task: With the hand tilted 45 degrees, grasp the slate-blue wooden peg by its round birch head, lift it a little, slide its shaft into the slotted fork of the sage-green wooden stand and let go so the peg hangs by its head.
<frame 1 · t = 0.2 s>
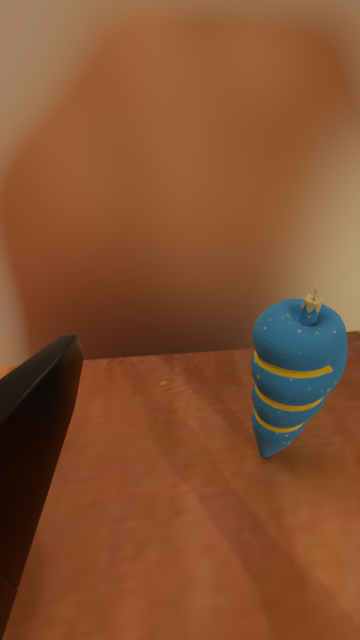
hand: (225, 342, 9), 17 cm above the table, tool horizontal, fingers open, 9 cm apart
ornament: (264, 453, 24), on the table
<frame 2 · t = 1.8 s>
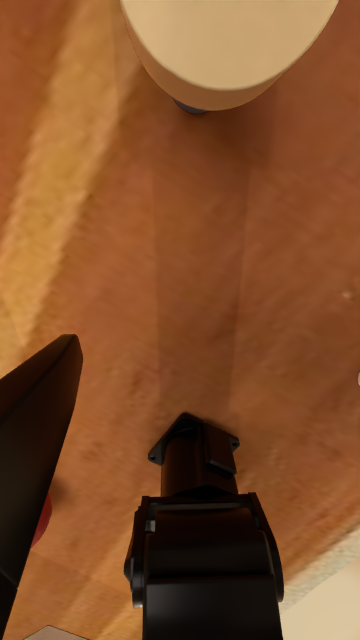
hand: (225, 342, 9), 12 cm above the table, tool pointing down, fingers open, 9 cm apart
peg: (196, 78, 16), on the table
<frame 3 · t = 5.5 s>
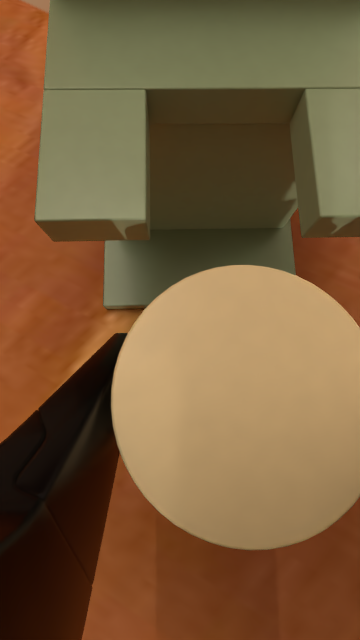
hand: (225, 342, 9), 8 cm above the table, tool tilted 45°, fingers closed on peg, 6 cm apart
peg: (202, 382, 16), on the table, touching gripper
stand: (199, 279, 18), on the table
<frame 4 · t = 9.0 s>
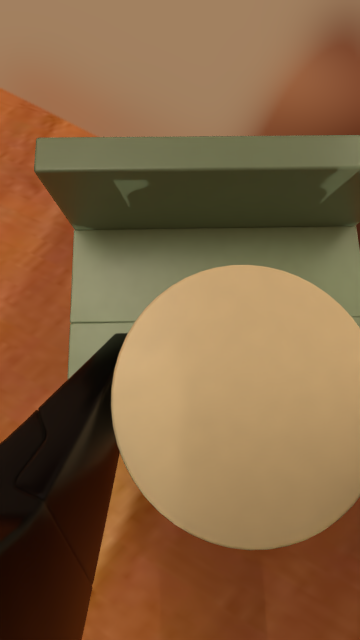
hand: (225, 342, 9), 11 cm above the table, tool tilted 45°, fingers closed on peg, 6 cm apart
peg: (202, 382, 16), point 3 cm above the table, touching gripper
stand: (199, 380, 19), on the table
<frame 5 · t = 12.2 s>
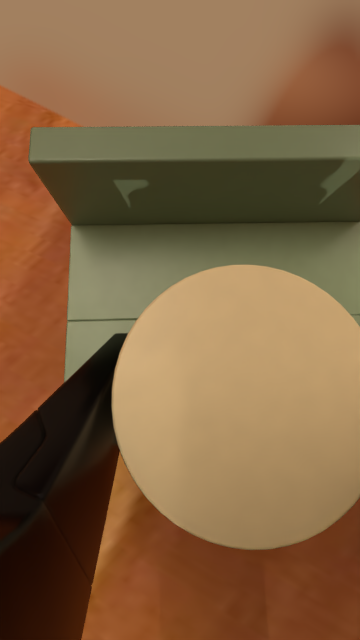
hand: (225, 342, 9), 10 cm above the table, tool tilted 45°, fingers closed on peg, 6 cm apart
peg: (203, 382, 16), point 2 cm above the table, touching gripper
stand: (199, 380, 19), on the table
when the fingers open (11 cm above the table, at t = 15.0 s): peg drops 1 cm, resting on stand.
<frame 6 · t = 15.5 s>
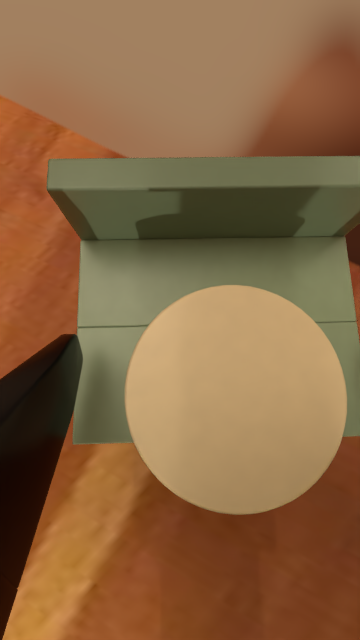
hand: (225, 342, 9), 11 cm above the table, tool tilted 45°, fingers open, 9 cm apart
peg: (201, 381, 18), point 2 cm above the table, touching stand
stand: (198, 381, 20), on the table
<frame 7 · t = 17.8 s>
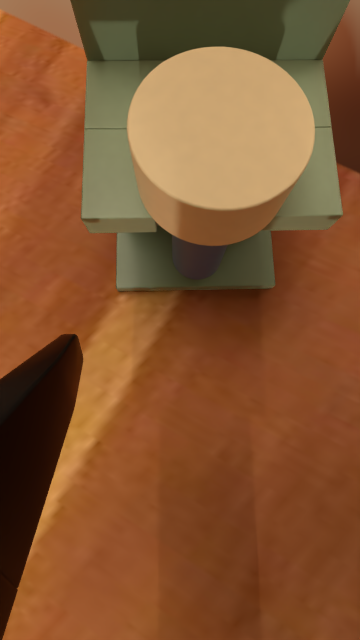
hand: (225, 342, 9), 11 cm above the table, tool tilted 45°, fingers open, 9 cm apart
peg: (196, 256, 19), point 2 cm above the table, touching stand
stand: (194, 267, 21), on the table
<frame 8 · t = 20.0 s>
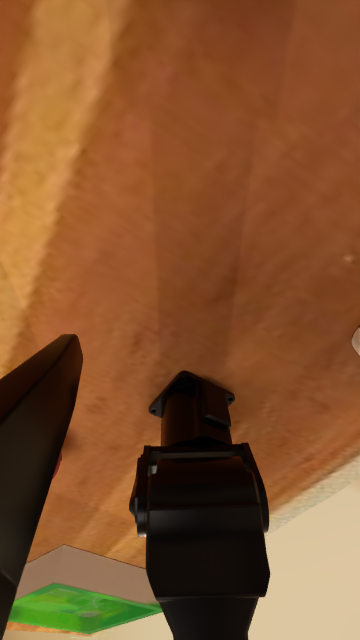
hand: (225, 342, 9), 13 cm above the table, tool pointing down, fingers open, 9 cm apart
tray: (81, 577, 60), on the table
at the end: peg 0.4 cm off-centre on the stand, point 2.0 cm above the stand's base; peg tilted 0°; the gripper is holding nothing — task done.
